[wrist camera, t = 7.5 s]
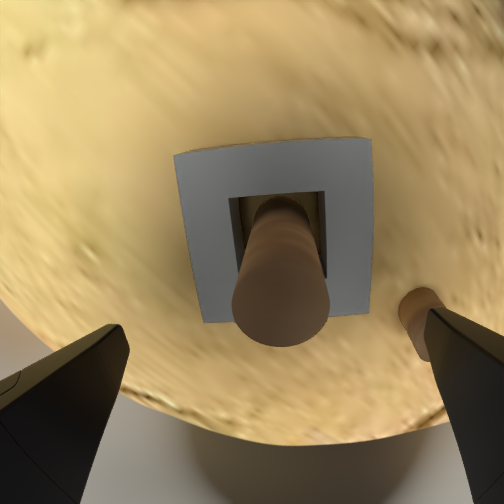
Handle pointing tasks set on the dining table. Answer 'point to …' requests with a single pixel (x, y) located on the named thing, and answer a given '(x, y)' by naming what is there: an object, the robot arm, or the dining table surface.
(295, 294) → the long pin
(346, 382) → the dining table surface
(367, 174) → the socket block
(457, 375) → the robot arm
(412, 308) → the short pin
